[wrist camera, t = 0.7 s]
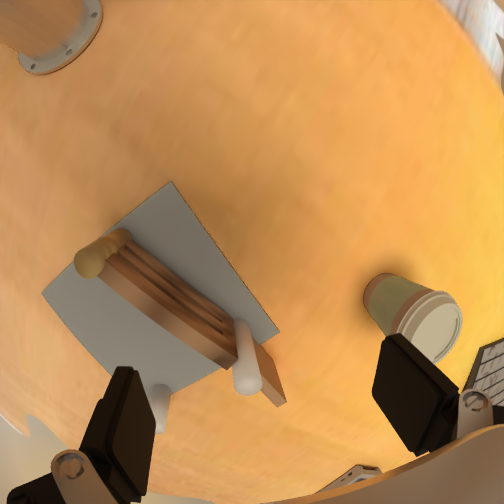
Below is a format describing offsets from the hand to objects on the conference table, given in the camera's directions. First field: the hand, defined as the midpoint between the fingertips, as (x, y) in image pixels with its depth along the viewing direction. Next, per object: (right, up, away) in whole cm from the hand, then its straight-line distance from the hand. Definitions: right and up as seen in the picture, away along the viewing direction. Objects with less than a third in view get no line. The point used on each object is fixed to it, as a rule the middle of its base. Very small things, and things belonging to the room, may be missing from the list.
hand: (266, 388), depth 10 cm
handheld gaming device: (+21, -47, +38) cm, 64 cm away
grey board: (-11, -4, +23) cm, 26 cm away
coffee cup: (+16, 0, +25) cm, 30 cm away
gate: (-9, +2, +20) cm, 22 cm away
